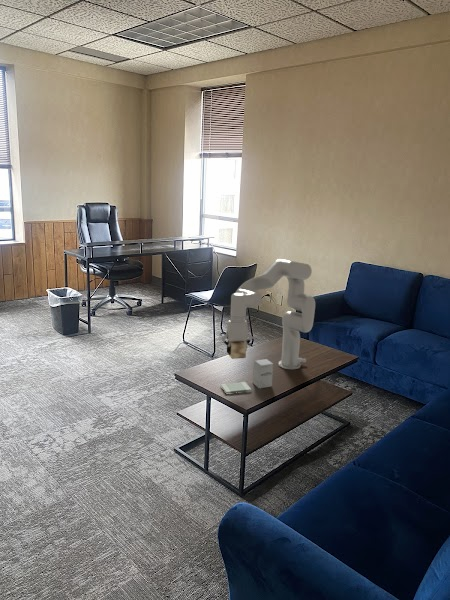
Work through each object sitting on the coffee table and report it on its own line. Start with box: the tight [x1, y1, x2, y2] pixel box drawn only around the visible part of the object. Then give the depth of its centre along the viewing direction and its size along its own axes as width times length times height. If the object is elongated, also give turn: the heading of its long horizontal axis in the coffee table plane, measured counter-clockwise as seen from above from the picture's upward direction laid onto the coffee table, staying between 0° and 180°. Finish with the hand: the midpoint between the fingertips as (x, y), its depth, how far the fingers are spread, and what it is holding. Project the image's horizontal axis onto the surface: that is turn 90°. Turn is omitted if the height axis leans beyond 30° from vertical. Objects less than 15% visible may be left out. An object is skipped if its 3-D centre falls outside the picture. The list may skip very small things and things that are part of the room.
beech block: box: [226, 341, 247, 360], centre depth 230 cm, size 7×8×7 cm
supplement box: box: [252, 358, 274, 389], centre depth 237 cm, size 7×7×13 cm
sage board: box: [220, 381, 252, 394], centre depth 232 cm, size 13×9×2 cm
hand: (236, 352), depth 231 cm, fingers closed on beech block, 7 cm apart
